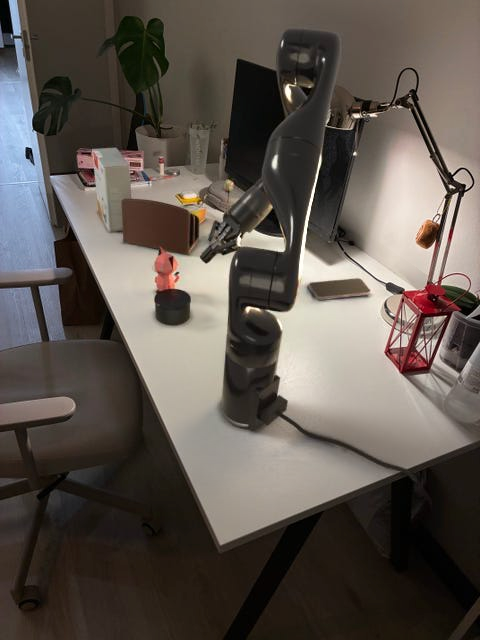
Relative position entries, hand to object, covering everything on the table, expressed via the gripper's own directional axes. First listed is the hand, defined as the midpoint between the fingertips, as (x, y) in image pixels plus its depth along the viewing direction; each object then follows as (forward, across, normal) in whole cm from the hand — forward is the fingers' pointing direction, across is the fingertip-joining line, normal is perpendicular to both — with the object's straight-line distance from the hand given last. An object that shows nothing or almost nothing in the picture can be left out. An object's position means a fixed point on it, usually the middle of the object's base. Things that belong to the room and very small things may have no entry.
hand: (202, 260), depth 124 cm
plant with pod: (-6, -21, +17) cm, 28 cm away
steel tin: (+13, +9, -2) cm, 16 cm away
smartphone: (-18, +13, +29) cm, 37 cm away
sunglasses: (-1, -41, +12) cm, 43 cm away
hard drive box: (+13, -44, -2) cm, 46 cm away
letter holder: (+7, -27, +4) cm, 28 cm away
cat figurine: (+12, 0, -1) cm, 12 cm away
